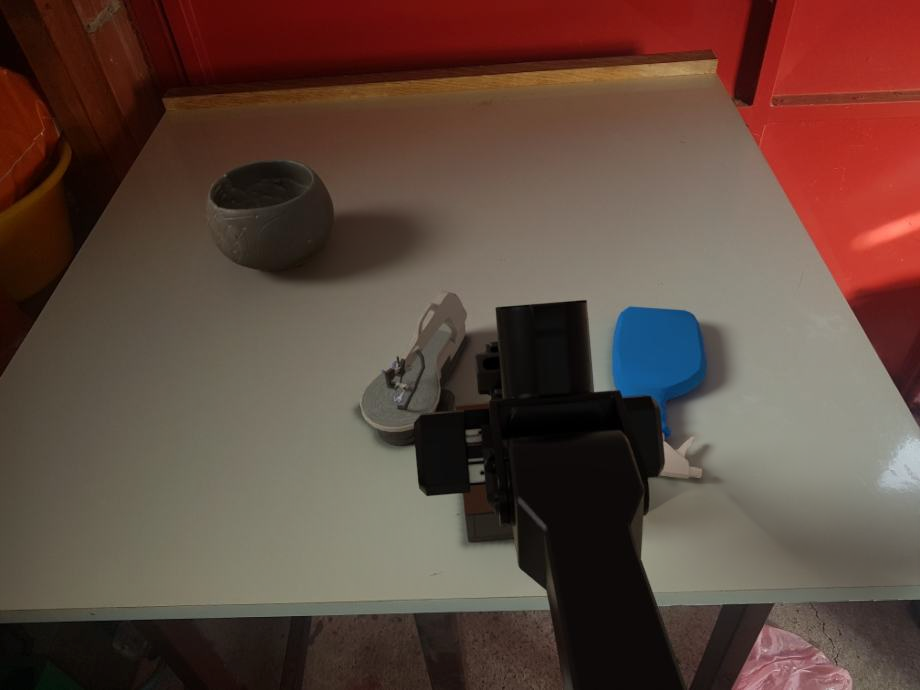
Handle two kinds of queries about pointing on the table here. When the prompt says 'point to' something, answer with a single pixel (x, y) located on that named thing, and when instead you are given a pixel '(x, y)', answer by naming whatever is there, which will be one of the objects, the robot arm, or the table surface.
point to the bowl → (269, 214)
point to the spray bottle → (660, 366)
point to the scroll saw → (418, 373)
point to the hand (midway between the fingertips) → (528, 432)
